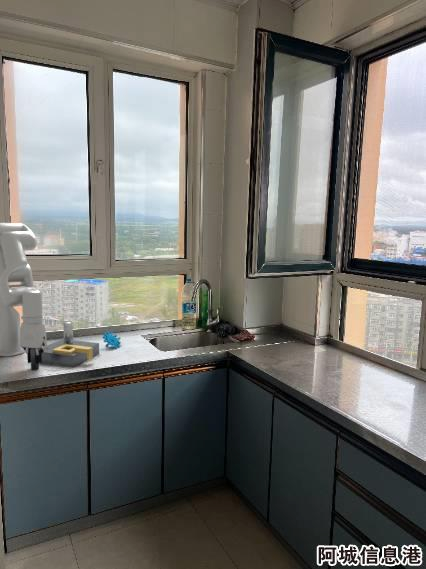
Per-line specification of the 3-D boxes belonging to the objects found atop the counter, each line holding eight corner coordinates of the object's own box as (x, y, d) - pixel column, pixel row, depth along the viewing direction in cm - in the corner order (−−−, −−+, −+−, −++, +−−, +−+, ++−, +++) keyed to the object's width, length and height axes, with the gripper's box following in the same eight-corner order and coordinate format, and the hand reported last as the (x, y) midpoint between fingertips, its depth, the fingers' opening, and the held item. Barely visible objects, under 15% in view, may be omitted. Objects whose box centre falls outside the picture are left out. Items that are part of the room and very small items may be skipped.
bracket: (52, 358, 186) (52, 347, 185) (65, 352, 195) (65, 342, 194) (85, 362, 182) (84, 351, 181) (96, 356, 190) (96, 345, 189)
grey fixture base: (34, 361, 187) (32, 328, 185) (62, 349, 206) (61, 318, 204) (73, 367, 182) (72, 332, 179) (99, 353, 201) (98, 322, 198)
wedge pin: (29, 369, 178) (27, 341, 176) (34, 367, 181) (33, 339, 179) (35, 370, 177) (34, 342, 175) (40, 367, 180) (39, 340, 178)
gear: (109, 348, 204) (100, 331, 207) (102, 355, 206) (94, 338, 210) (126, 346, 213) (117, 329, 216) (119, 352, 215) (111, 336, 219)
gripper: (9, 320, 175) (12, 363, 177) (43, 323, 170) (45, 368, 173) (22, 316, 182) (24, 358, 184) (55, 319, 177) (57, 362, 180)
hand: (34, 362), depth 179 cm, fingers closed on wedge pin, 3 cm apart
